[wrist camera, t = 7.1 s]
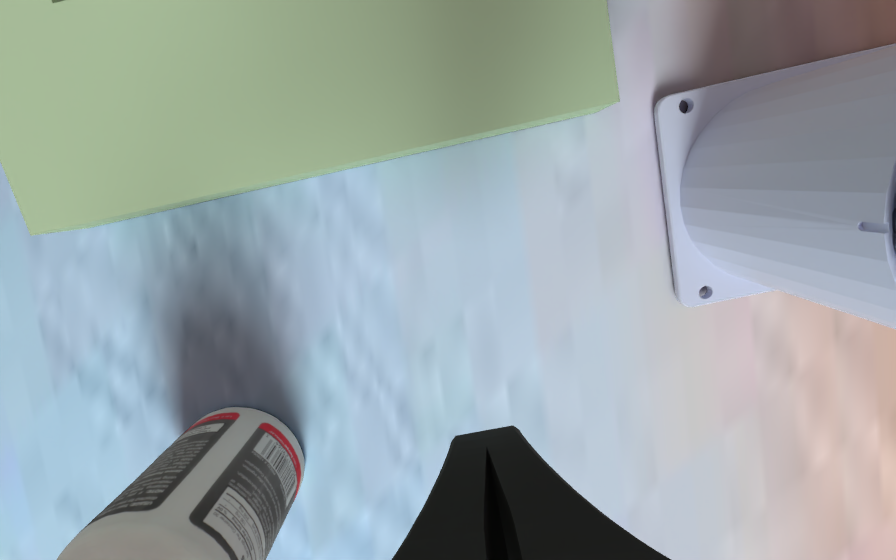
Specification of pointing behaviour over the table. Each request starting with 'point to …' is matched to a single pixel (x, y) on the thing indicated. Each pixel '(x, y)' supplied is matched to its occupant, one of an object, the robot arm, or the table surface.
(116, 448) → the table surface
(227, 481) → the pill bottle
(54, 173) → the putting mat
